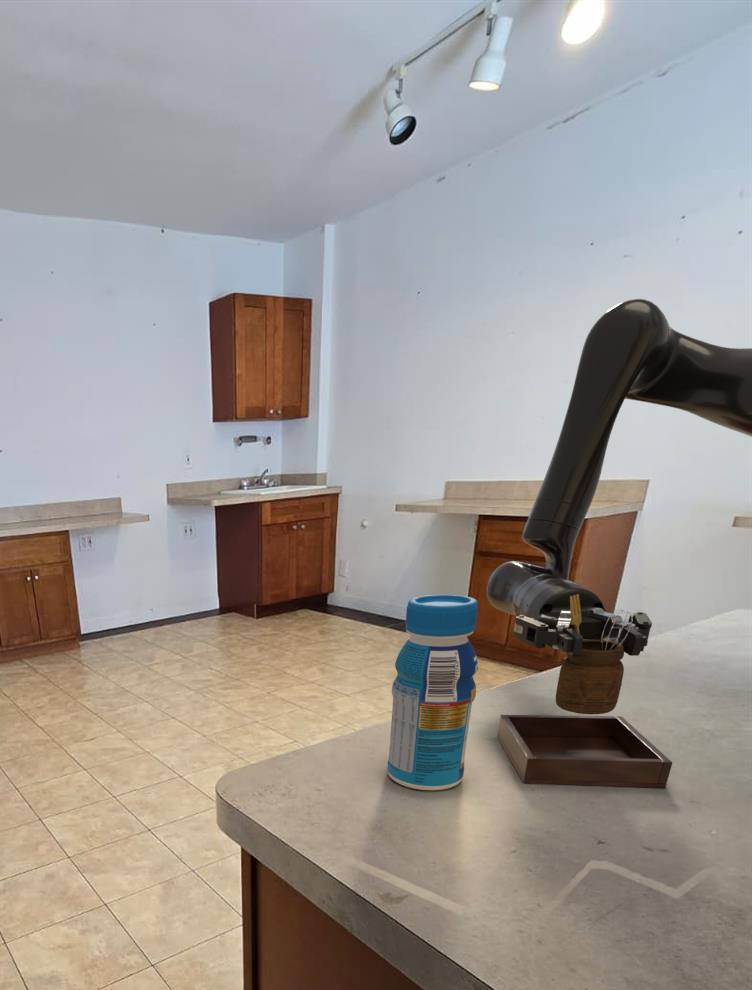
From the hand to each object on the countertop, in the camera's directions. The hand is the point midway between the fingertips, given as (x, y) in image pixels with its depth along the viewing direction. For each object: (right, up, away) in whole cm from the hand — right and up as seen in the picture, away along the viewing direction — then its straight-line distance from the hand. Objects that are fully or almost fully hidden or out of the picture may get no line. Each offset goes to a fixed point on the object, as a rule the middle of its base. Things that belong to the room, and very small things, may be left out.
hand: (607, 646), depth 66 cm
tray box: (+2, -12, +8) cm, 14 cm away
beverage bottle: (-16, -14, +7) cm, 22 cm away
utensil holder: (+1, -6, +6) cm, 8 cm away
